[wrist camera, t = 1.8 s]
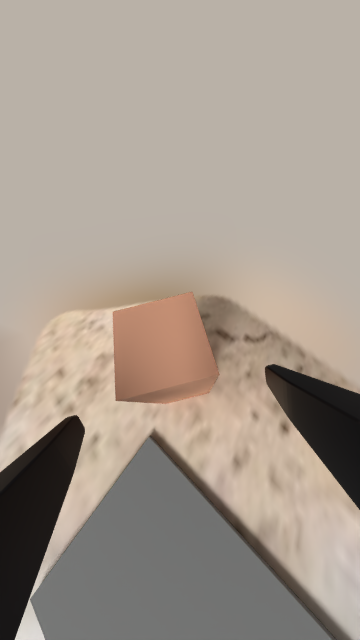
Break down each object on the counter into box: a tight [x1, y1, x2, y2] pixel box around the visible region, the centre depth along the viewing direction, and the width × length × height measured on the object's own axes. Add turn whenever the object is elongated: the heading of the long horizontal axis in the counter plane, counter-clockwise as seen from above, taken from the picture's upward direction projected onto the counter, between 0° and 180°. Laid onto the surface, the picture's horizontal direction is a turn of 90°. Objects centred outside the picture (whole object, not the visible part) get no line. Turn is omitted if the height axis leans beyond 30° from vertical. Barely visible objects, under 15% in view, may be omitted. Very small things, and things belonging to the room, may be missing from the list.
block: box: [113, 292, 219, 404], centre depth 13 cm, size 4×4×11 cm
